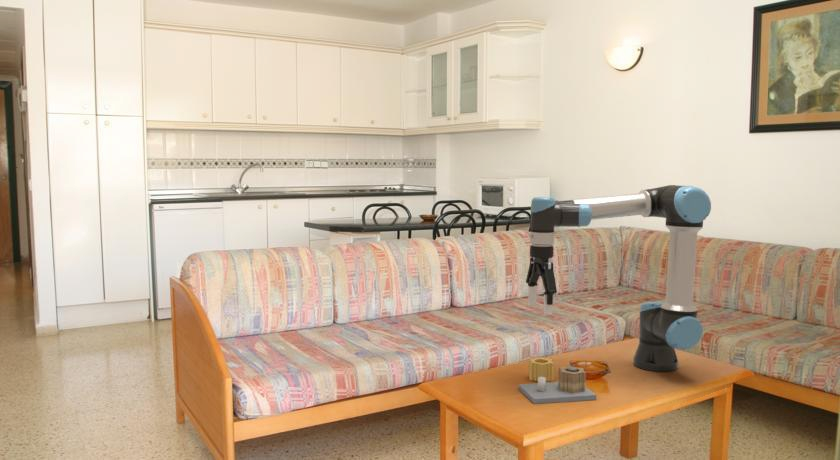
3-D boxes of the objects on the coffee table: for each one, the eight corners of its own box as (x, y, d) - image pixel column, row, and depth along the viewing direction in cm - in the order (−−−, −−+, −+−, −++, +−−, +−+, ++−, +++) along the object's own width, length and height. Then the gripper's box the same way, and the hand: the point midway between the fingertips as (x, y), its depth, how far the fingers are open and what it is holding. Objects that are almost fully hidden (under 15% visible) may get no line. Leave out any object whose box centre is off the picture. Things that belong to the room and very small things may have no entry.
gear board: (577, 385, 223) (577, 360, 222) (596, 399, 209) (597, 373, 208) (518, 389, 219) (519, 364, 218) (534, 403, 205) (534, 377, 204)
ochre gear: (548, 373, 235) (548, 356, 234) (557, 381, 226) (558, 363, 226) (524, 375, 233) (524, 358, 232) (533, 383, 225) (533, 365, 224)
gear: (578, 383, 220) (579, 365, 219) (590, 392, 211) (590, 373, 211) (553, 385, 218) (554, 366, 217) (564, 393, 210) (564, 374, 209)
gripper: (517, 241, 232) (515, 302, 234) (545, 249, 207) (543, 318, 209) (538, 240, 233) (536, 302, 235) (568, 249, 209) (566, 317, 211)
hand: (540, 310), depth 222 cm, fingers open, 13 cm apart
